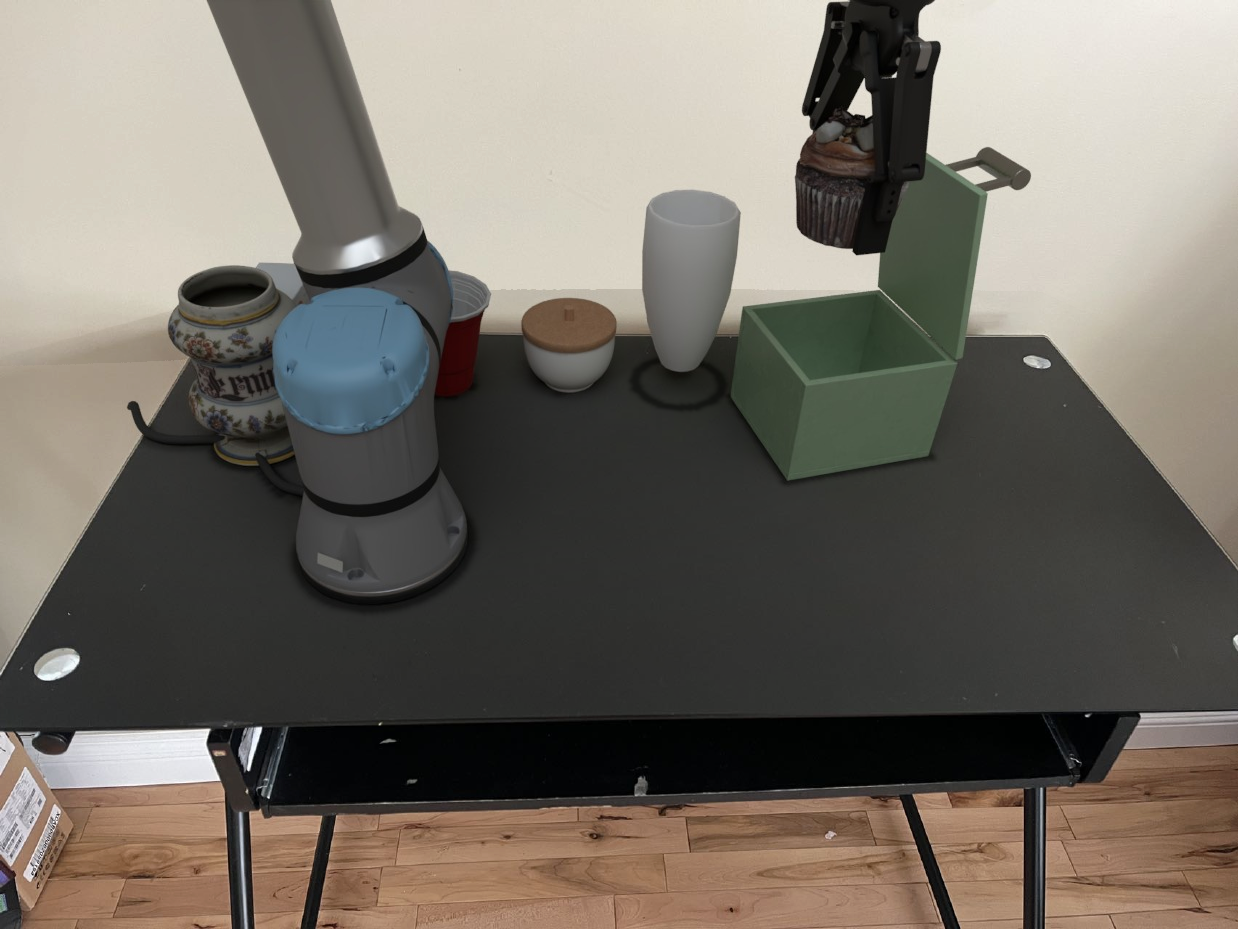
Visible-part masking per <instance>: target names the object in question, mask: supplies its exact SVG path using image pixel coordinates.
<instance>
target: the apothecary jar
mask: <svg viewBox="0 0 1238 929" xmlns="http://www.w3.org/2000/svg"><path fill="white" fill-rule="evenodd" d="M177 298H178V304H177V305H176V306H175V307H174V309H172V312H171V314H170V315H169V319H168V323H167V332H168V337H169V339H170V341H171V343H172V344H173V345H174V347H175V348H176V349H177V350H178V351H180V352H181V353H182V354H183V355H185V356H187V357H189V358H190V361H191V363H192V367H193V371H194V376H195V379H194V381H193V382H192V384H191V386H190V389H189V392H188V407H189V410H190V412H191V414H192V416H193V417H194V419H195V420H196V422H198V423H199V424H200V425H201V426H202V427H204V428H206V429H207V430H208V431H211V432H214V433H216V434H215V435H222V436H225V439H224V440H221V441H218V442H216V443H214V444H213V447H214V452H215V453H216V454H217V455H218V456H219V458H221V459H222V460H224V461H226V462H228V463H230V464H233V465H237V466H242V467H243V466H244V467H260V466H259V465H258V463H257V460H256V456H255V454H256V453H259V454H261V455H263V456H264V457H265V458H266V459H267V461H268V462H269V464H270V465H273V464H278V463H280V462H283V461H286V460H288V459H290V458H291V457H293V456H295V453H294V449H293V445H292V441H291V437H290V433H289V429H288V425H287V421H286V417H285V413H284V409H283V405H282V402H281V398H280V396H279V395H278V391H277V389H276V386H275V376H274V372H273V364H274V361H273V353H272V347H273V340H274V336H275V333H276V331H277V329H278V327H279V325H280V323H281V322H282V321H283V319H284V318H285V317H286V316H287V315H288V314H289V313H290V312H291V311H292V310H293V309H294V308H296V305H295V303H294V302H293V301H292V299H291V298H290V297H289V296H287V295H286V294H285V293H284V292H282V291H280V290H278V289H276V287H275V284H274V281H273V279H272V277H271V276H270V275H269V274H268V273H266V272H265V271H263V270H260V269H258V268H256V267H254V266H248V265H247V266H246V265H235V264H233V265H220V266H214V267H210V268H207V269H203V270H201V271H198V272H196V273H194V274H192V275H191V276H189V277H187V278H186V279H185V280H183V281H182V283H181V284H180V285H179V287H178V289H177Z"/></svg>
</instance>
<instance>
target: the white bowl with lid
mask: <svg viewBox="0 0 1238 929" xmlns="http://www.w3.org/2000/svg"><path fill="white" fill-rule="evenodd" d="M520 322H521V325H520V326H521V332H522V342H523V350H524V354H525V357H526V361H527V364H528V365H529V368H530V369H531V371H532V372H533V373H534V375H535V376H536V377H537V378H538V379H539V380H541V381H542V382H543V383H544V384H545V385H546V386H547V387H548V388H549V389H551V390H553V391H556V392H561V393H579V392H583V391H585V390H587V389H589V388H591V387H592V386H593V385H594V383H595V382H596V381H598V380H599V379H600V378H601V377H603V375H604V374H605V373H606V371H607V370H608V368H609V366H610V365H611V362H612V359H613V355H614V350H615V344H616V333H617V327H618V321H617V318H616V315H615V314H614V313H613V312H612V311H611V309H609V308H608V307H606V306H604V305H603V304H601V303H599V302H597V301H593V300H590V299H586V298H578V297H558V298H552V299H547V300H543V301H541V302H538V303H536V304H534V305H532V306H530V308H528V309H527V310H526V311H525V312H524V313H523V315H522V317H521V321H520Z"/></svg>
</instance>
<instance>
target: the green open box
mask: <svg viewBox="0 0 1238 929" xmlns="http://www.w3.org/2000/svg"><path fill="white" fill-rule="evenodd" d="M957 366H958V362H957V361H956V360H955V359H954V358H953V357H952V356H951V355H950V354H949V353H948V352H947V351H946V350H945V349H944V348H943V347H941V346H940V345H939V344H938V343H937V342H936V341H935V340H934V339H933V338H932V337H931V336H930V335H929V334H928V333H927V332H925V331H924V330H923V329H922V328H921V327H920V326H919V325H918V324H917V323H916V322H915V321H914V320H913V319H912V318H911V317H909V316H908V315H907V314H906V313H905V312H904V311H903V310H902V309H901V308H900V307H899V306H898V305H897V304H896V303H895V302H894V301H892V300H891V299H890V298H889V297H888V296H887V295H886V294H885V293H884V292H883V291H882V290H881V289H875V290H867V291H857V292H851V293H843V294H842V293H841V294H833V295H826V296H825V295H823V296H817V297H810V298H809V297H808V298H801V299H791V300H785V301H783V300H782V301H777V302H775V301H774V302H767V303H759V304H752V305H750V304H749V305H744V306H742V309H741V315H740V322H739V329H738V338H737V345H736V351H735V359H734V367H733V374H732V376H733V377H732V384H731V391H730V398H731V400H732V401H733V402H734V404H735V406H736V407H737V409H738V410H739V412H740V414H742V416H743V418H744V419H745V420H746V423H748V425H749V427H750V428H751V430H752V431H753V432H754V433H755V436H757V438H758V440H759V441H760V443H761V444H762V446H763V447H764V449H765V450H766V451H767V453H768V454H769V456H770V457H771V460H773V463H775V465H776V466H777V467H778V469H779V471H780V472H781V474H782V475H783V477H784V478H785V479H786V481H793V480H800V479H805V478H811V477H817V476H822V475H823V476H824V475H829V474H833V473H839V472H840V473H841V472H846V471H850V470H857V469H863V468H869V467H874V466H880V465H885V464H890V463H897V462H903V461H909V460H914V459H921V458H926V457H929V456H930V452H931V448H932V446H933V442H934V439H935V436H936V433H937V430H938V427H939V423H940V420H941V417H942V414H943V411H944V408H945V405H946V401H947V399H948V396H949V393H950V390H951V389H950V388H951V386H952V384H953V379H954V376H955V373H956V370H957Z"/></svg>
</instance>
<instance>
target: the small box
mask: <svg viewBox="0 0 1238 929" xmlns="http://www.w3.org/2000/svg"><path fill="white" fill-rule="evenodd" d="M255 268H258V269H260V270H263V271H265V272H266V273H268V274H269V275H270V276H271V277H272V279H273V281H274V284H275V287H276V289H278V290H280V291H282V292H284V293H285V294H286V295H287V296H289V297H290V298H291V299H292V301H293V302H294V303H295V305H296V307H297V306H298V305H300V304H306V305H308V304H310V300H309V298H308V295H307V293H306V290H305V288H304V286H303V283H302V281H301V279H300V276H299V274H298V271H297V269H296V266H295V264H294V263H291V262H290V263H289V262H288V263H287V262H284V263H283V262H258V264H257V265H256V266H255Z"/></svg>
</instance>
